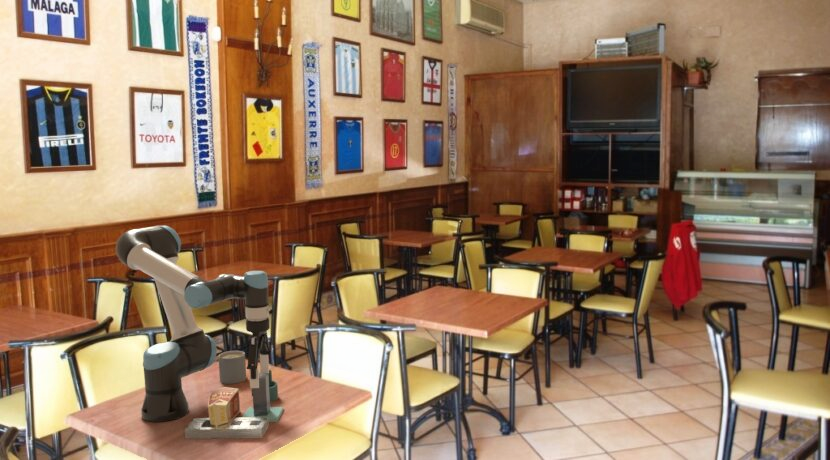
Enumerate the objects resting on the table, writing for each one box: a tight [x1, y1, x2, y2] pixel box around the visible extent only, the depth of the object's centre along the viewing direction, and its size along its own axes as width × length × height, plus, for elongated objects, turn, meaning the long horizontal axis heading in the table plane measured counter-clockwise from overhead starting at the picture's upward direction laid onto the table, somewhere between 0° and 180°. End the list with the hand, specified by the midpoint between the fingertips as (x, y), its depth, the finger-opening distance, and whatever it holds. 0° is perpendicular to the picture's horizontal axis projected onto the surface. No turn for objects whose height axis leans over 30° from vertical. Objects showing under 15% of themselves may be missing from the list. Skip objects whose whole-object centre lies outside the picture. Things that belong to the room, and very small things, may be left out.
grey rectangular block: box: [252, 372, 271, 416], centre depth 231 cm, size 4×4×13 cm
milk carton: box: [207, 386, 241, 428], centre depth 226 cm, size 9×9×20 cm
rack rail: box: [183, 417, 270, 440], centre depth 219 cm, size 24×9×3 cm, turn 89°
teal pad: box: [241, 406, 285, 423], centre depth 232 cm, size 12×10×1 cm
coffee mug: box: [218, 350, 247, 385], centre depth 270 cm, size 13×10×10 cm
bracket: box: [250, 369, 279, 403], centre depth 247 cm, size 9×9×9 cm
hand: (259, 380), depth 231 cm, fingers open, 13 cm apart
